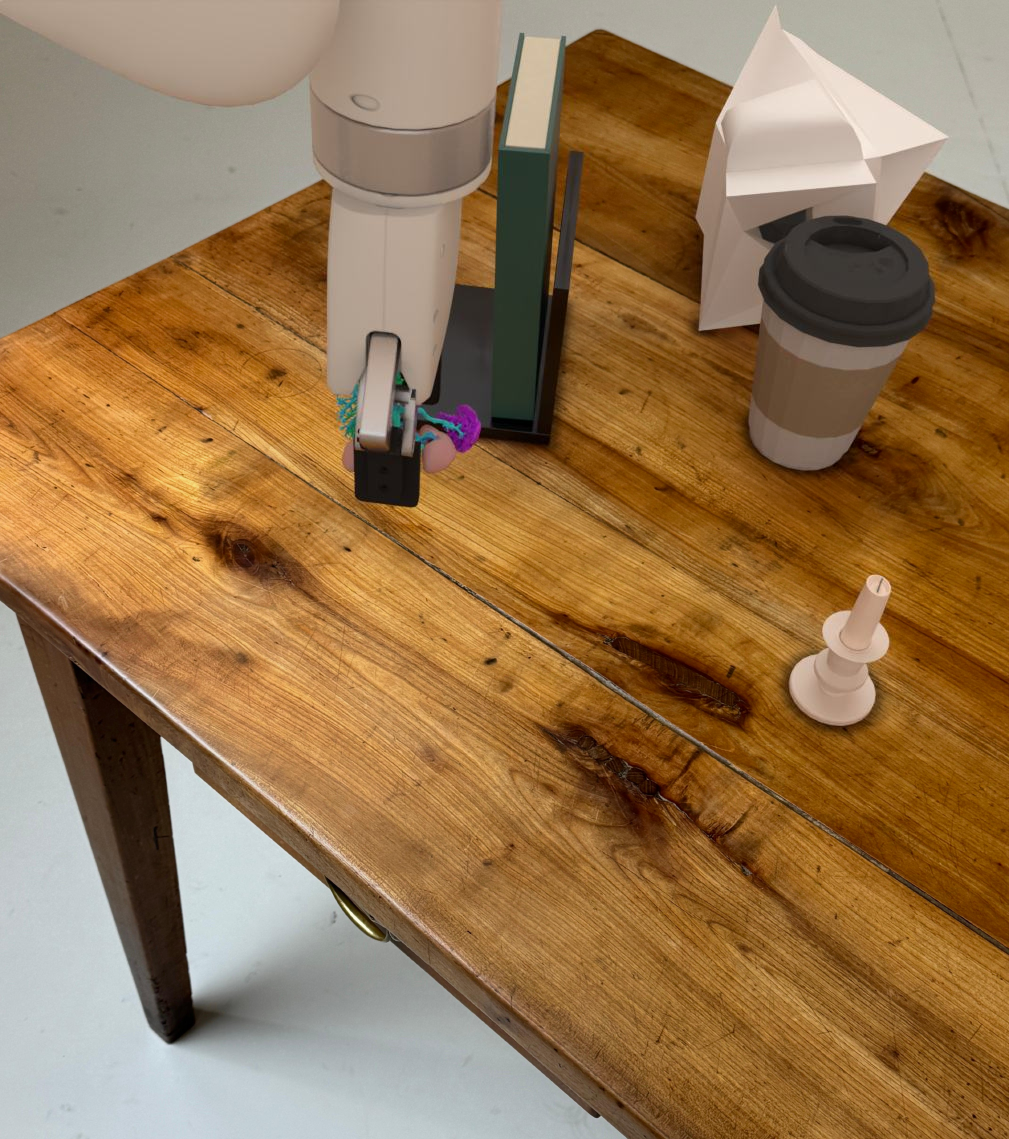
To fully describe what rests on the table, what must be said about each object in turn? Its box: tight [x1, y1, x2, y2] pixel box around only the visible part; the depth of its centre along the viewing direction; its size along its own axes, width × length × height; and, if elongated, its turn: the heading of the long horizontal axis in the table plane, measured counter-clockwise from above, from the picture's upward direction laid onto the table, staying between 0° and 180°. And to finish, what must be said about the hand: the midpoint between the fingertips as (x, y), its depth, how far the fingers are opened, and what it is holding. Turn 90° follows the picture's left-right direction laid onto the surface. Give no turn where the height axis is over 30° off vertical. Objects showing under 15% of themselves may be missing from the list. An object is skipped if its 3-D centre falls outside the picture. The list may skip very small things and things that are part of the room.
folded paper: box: [694, 4, 950, 332], centre depth 99 cm, size 17×24×17 cm
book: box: [491, 32, 567, 420], centre depth 86 cm, size 20×14×3 cm
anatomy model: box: [334, 372, 481, 474], centre depth 65 cm, size 5×8×7 cm
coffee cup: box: [747, 215, 936, 471], centre depth 86 cm, size 11×11×15 cm
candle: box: [788, 574, 892, 727], centre depth 74 cm, size 5×5×10 cm
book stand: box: [393, 150, 585, 446], centre depth 90 cm, size 11×16×13 cm
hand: (399, 446), depth 67 cm, fingers closed on anatomy model, 7 cm apart
